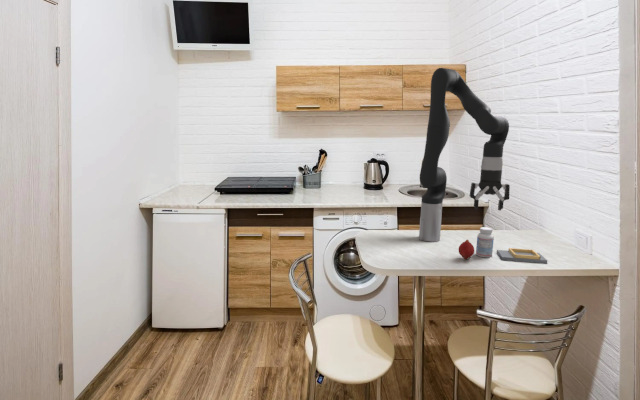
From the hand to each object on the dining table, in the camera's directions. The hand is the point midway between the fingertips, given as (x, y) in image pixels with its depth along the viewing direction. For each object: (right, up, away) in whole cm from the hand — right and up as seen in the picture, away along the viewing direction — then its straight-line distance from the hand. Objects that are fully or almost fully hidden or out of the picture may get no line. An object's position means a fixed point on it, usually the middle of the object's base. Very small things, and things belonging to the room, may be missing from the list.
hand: (488, 209), depth 158 cm
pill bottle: (0, -19, +3) cm, 19 cm away
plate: (+13, -19, +1) cm, 24 cm away
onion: (-10, -20, -2) cm, 22 cm away
